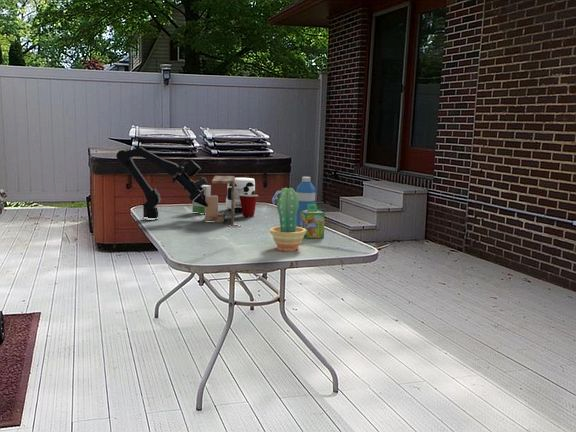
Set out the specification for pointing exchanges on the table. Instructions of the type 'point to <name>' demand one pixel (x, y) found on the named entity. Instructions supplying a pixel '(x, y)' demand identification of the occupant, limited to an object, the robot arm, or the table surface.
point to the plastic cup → (248, 204)
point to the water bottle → (305, 196)
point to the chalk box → (312, 222)
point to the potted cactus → (287, 220)
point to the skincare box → (199, 207)
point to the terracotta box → (211, 206)
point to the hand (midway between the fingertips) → (208, 204)
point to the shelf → (231, 181)
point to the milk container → (240, 191)
